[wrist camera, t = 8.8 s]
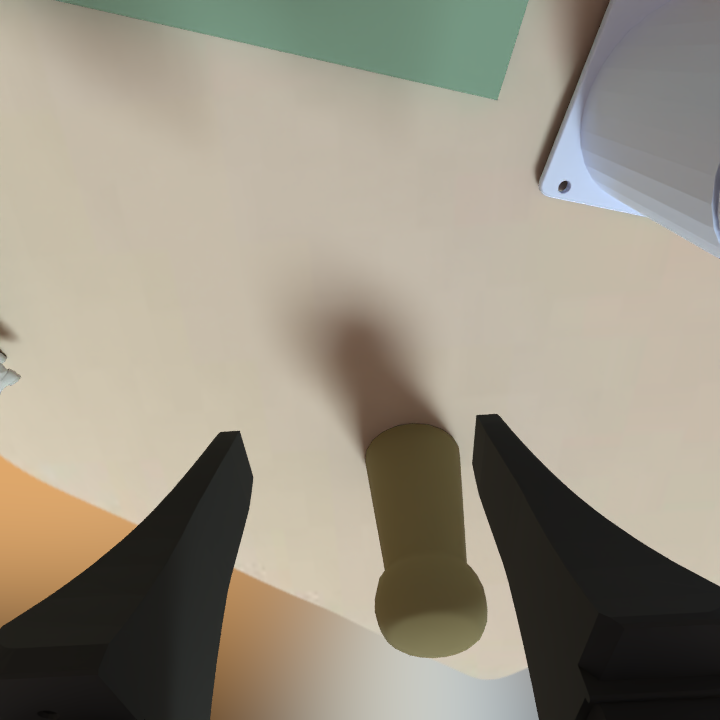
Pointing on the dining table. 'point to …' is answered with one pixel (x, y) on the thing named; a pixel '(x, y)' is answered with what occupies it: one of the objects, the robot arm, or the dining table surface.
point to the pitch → (359, 33)
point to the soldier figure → (6, 374)
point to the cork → (423, 544)
